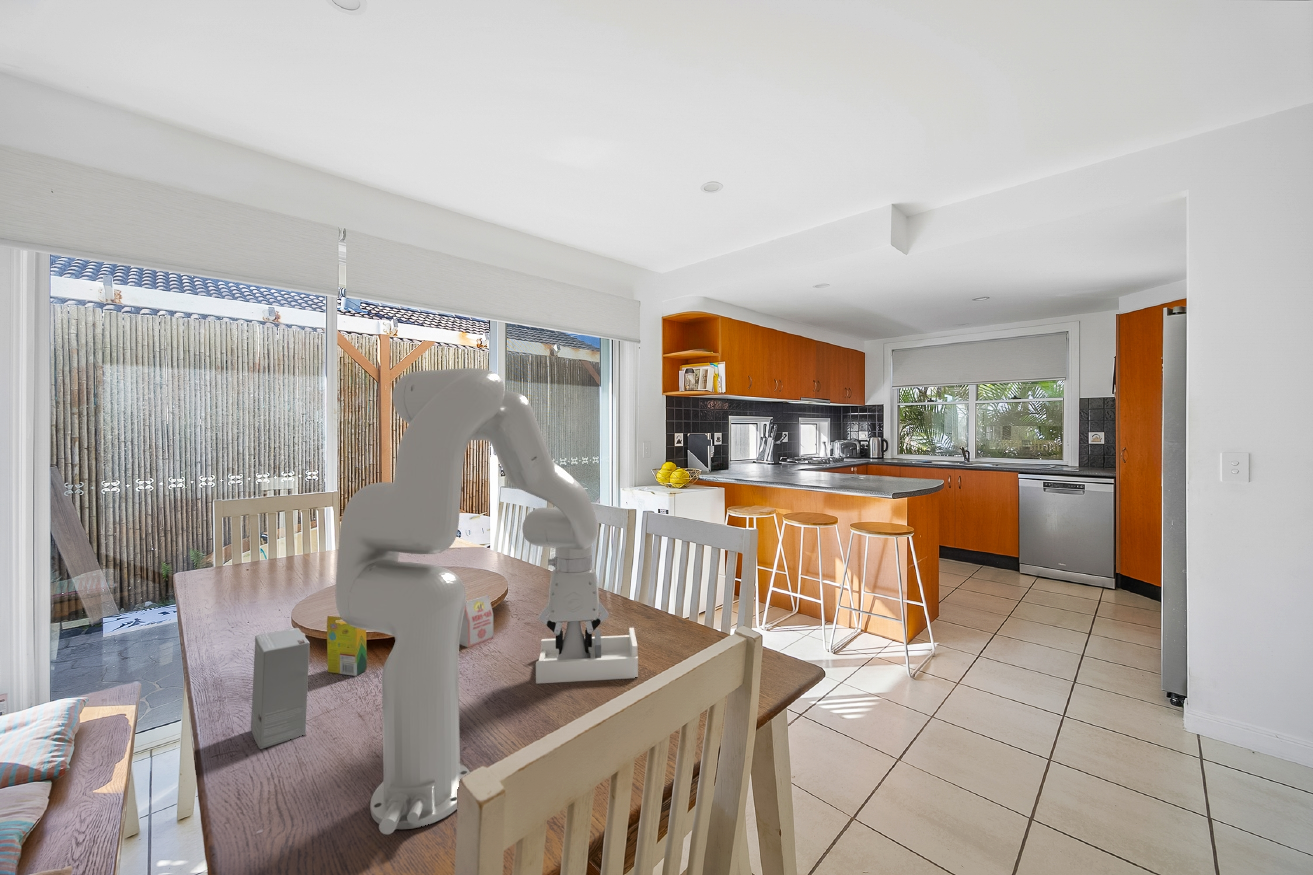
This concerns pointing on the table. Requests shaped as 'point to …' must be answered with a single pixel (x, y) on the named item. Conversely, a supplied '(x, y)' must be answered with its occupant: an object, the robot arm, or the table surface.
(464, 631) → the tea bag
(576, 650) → the flask
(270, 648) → the skincare box
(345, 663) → the crayon box
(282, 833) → the table surface
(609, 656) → the tray
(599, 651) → the pusher
